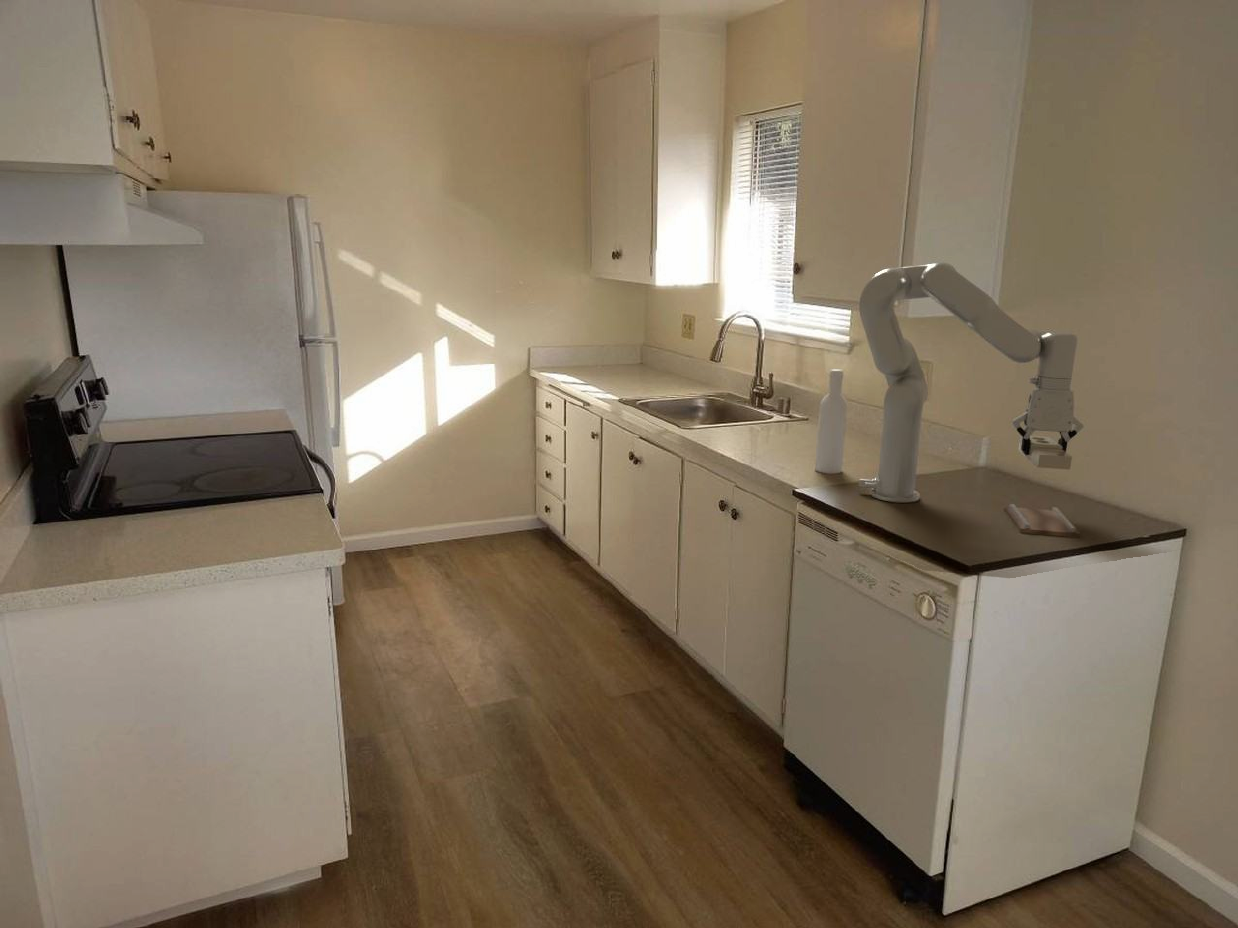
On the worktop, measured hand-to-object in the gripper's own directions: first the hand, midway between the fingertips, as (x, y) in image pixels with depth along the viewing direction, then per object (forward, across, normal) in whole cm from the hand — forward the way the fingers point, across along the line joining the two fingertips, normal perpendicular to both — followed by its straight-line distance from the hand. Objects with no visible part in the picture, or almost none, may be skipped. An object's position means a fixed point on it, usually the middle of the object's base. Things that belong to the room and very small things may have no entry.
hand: (1042, 454), depth 213 cm
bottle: (+16, -49, +32) cm, 61 cm away
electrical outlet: (+1, 0, -1) cm, 1 cm away
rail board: (+16, 0, -7) cm, 17 cm away
